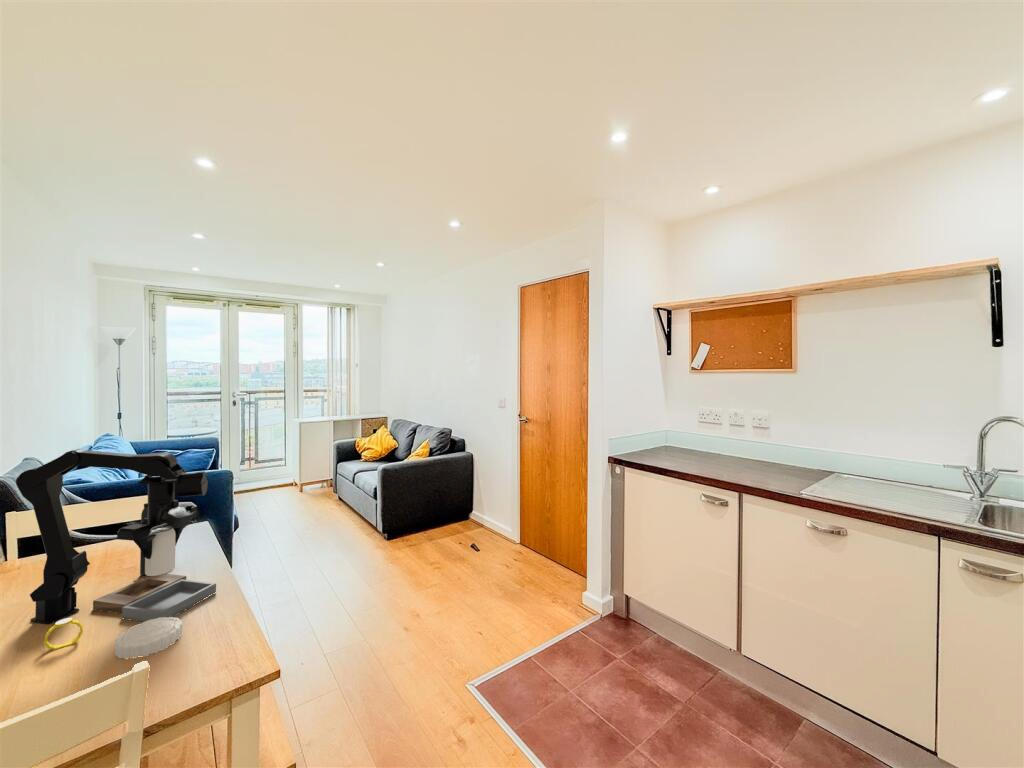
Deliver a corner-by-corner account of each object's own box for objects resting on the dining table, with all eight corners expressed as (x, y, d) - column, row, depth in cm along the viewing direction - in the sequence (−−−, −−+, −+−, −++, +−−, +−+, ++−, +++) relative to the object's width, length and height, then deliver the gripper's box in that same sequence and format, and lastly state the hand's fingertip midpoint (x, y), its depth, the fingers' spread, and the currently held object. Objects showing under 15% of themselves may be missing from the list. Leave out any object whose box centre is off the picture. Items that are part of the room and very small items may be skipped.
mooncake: (175, 623, 106) (175, 609, 106) (188, 642, 99) (188, 626, 99) (110, 645, 97) (111, 630, 97) (119, 668, 89) (120, 651, 89)
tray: (160, 624, 105) (160, 612, 105) (121, 619, 107) (122, 607, 107) (215, 593, 121) (216, 583, 121) (181, 589, 123) (181, 579, 123)
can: (148, 579, 112) (149, 534, 112) (141, 572, 116) (142, 529, 116) (178, 570, 117) (178, 528, 117) (170, 565, 121) (171, 523, 121)
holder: (125, 614, 110) (125, 604, 110) (93, 609, 111) (93, 600, 111) (186, 584, 126) (186, 575, 126) (157, 580, 128) (157, 572, 128)
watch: (45, 655, 93) (42, 630, 93) (45, 650, 95) (43, 625, 95) (83, 642, 98) (81, 617, 97) (83, 637, 99) (81, 612, 99)
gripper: (151, 509, 106) (151, 570, 106) (214, 491, 124) (214, 543, 124) (115, 507, 108) (115, 567, 108) (183, 489, 126) (182, 540, 126)
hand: (160, 553), depth 116 cm, fingers closed on can, 6 cm apart
